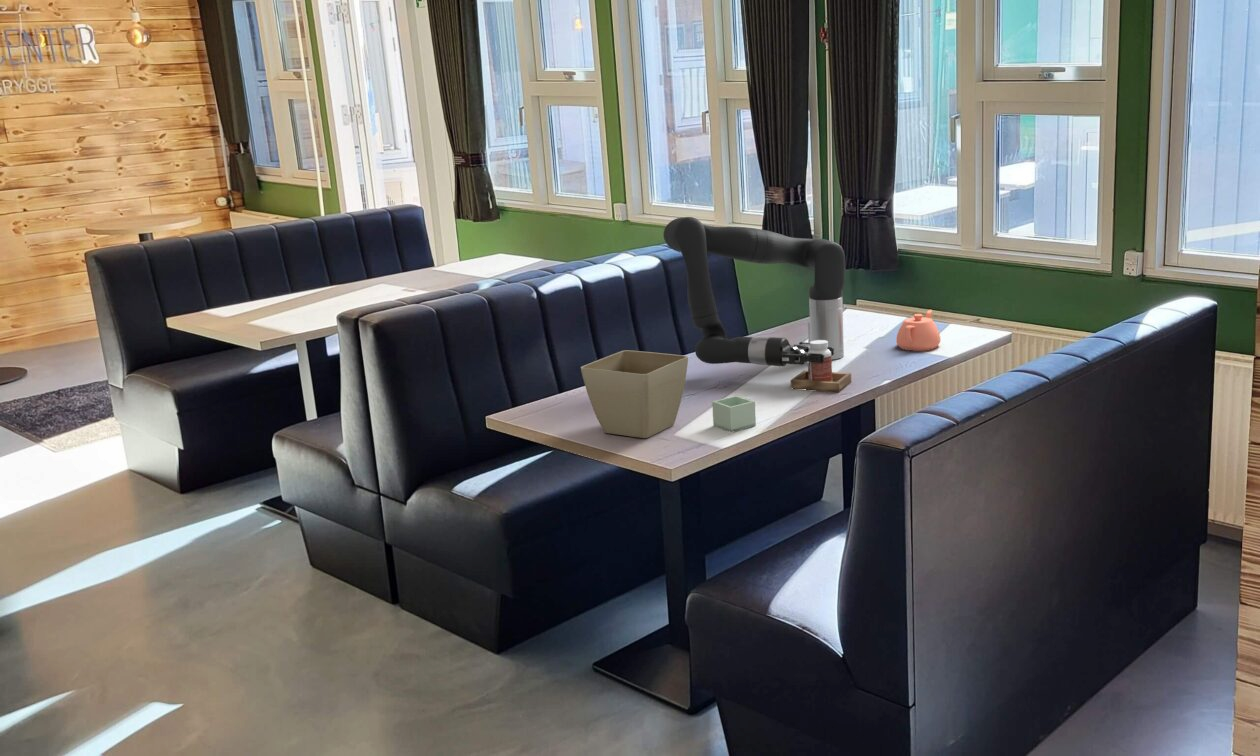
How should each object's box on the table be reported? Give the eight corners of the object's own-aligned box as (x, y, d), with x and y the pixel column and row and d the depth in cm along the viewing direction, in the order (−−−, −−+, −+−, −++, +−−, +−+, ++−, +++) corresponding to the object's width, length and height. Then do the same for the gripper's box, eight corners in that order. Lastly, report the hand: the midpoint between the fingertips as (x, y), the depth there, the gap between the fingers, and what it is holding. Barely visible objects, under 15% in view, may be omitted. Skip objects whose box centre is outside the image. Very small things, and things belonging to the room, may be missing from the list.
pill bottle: (837, 382, 319) (836, 341, 316) (819, 387, 316) (818, 345, 313) (821, 379, 324) (819, 338, 321) (803, 383, 321) (801, 342, 318)
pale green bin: (713, 425, 293) (712, 401, 291) (737, 419, 296) (736, 395, 295) (731, 432, 287) (730, 407, 285) (755, 425, 290) (754, 401, 289)
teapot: (886, 351, 350) (886, 319, 347) (912, 337, 364) (912, 306, 361) (927, 355, 343) (926, 322, 340) (951, 340, 357) (951, 309, 354)
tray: (790, 389, 319) (790, 380, 318) (804, 379, 327) (804, 370, 327) (838, 392, 313) (838, 383, 312) (851, 382, 321) (851, 373, 320)
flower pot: (629, 413, 307) (624, 348, 303) (693, 422, 296) (690, 355, 292) (583, 435, 292) (578, 367, 288) (650, 445, 282) (645, 374, 277)
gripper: (757, 343, 317) (819, 347, 310) (778, 331, 330) (837, 334, 322) (759, 371, 319) (819, 376, 312) (779, 358, 332) (838, 362, 324)
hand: (828, 354), depth 317 cm, fingers open, 6 cm apart
